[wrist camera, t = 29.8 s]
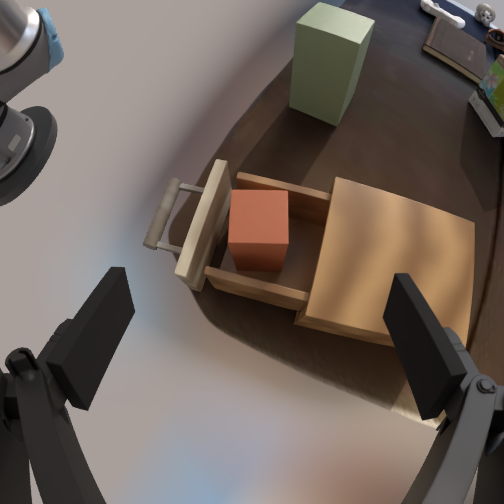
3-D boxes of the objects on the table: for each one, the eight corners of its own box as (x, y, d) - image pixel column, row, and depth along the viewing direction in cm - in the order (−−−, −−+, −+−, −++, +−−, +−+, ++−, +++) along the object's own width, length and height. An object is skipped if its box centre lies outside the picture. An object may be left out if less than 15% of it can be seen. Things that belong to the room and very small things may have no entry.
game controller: (467, 19, 54) (465, 22, 50) (462, 30, 58) (460, 33, 53) (425, -5, 57) (419, -5, 52) (421, 6, 60) (415, 7, 56)
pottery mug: (513, 67, 53) (515, 48, 46) (485, 60, 58) (485, 41, 51) (508, 42, 53) (509, 24, 46) (482, 36, 58) (481, 18, 52)
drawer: (151, 277, 36) (125, 258, 29) (186, 185, 40) (171, 150, 32) (324, 325, 34) (341, 319, 26) (345, 224, 38) (364, 195, 30)
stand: (336, 127, 43) (360, 44, 28) (288, 106, 45) (296, 22, 29) (352, 97, 45) (375, 20, 30) (308, 79, 47) (318, 1, 31)
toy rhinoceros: (470, 22, 59) (478, 4, 50) (473, 14, 61) (480, -2, 53) (489, 34, 57) (498, 17, 49) (490, 25, 60) (498, 9, 52)
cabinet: (293, 324, 35) (305, 315, 26) (319, 216, 39) (335, 176, 30) (420, 352, 33) (465, 350, 24) (435, 249, 37) (474, 222, 28)
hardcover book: (483, 51, 53) (486, 45, 51) (481, 87, 48) (485, 81, 45) (434, 21, 56) (436, 15, 54) (421, 50, 51) (424, 43, 48)
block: (236, 270, 35) (227, 243, 26) (238, 228, 37) (230, 189, 27) (281, 271, 35) (288, 244, 26) (281, 229, 36) (287, 190, 27)
